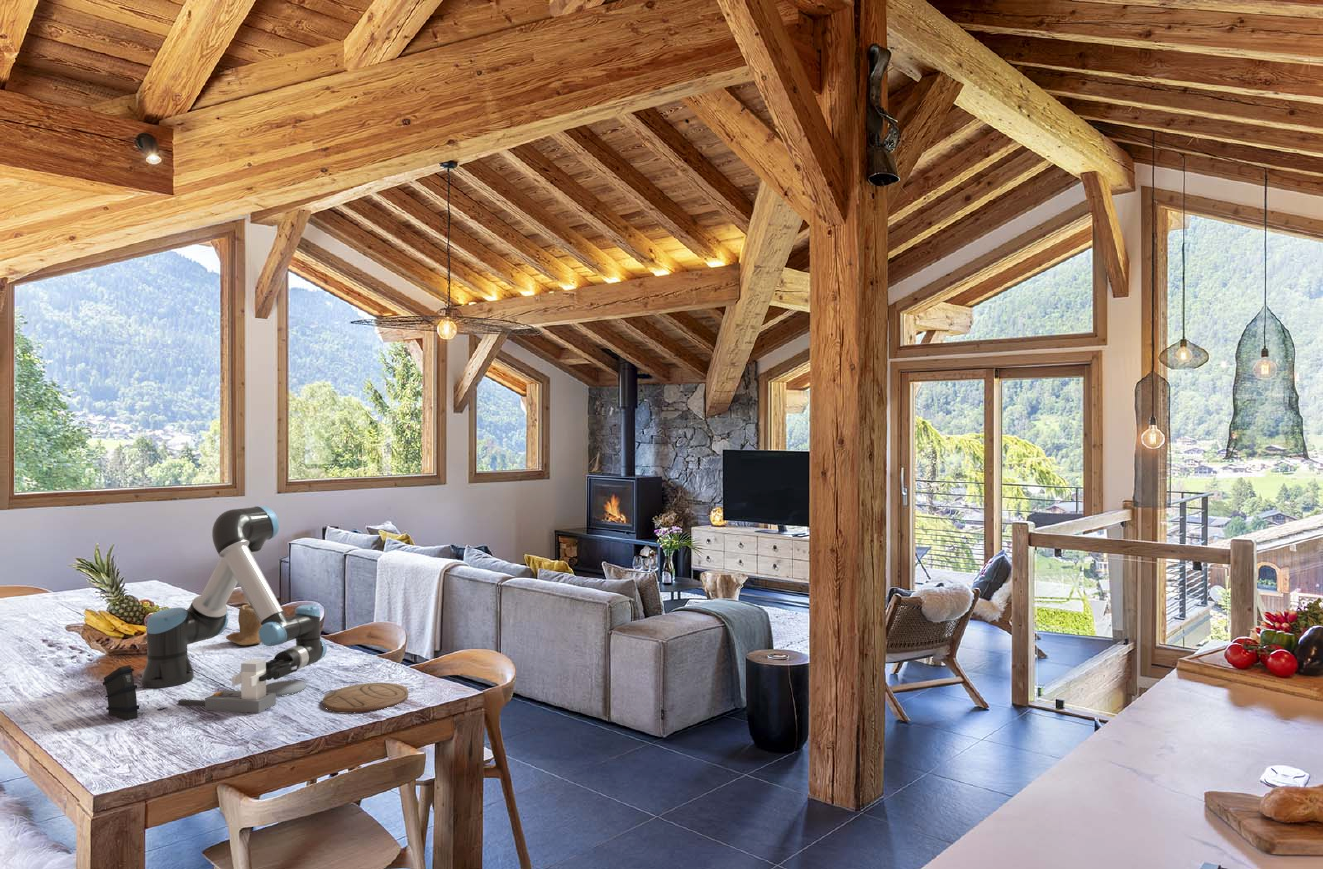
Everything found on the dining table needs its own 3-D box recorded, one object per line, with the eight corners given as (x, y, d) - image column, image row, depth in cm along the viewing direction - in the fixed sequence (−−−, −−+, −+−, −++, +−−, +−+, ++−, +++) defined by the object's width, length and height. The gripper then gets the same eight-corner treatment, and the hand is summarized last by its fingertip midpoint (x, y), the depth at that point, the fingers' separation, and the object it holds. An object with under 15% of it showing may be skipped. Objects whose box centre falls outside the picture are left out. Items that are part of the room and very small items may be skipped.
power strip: (170, 707, 258) (170, 694, 258) (189, 699, 266) (189, 686, 266) (258, 713, 252) (258, 699, 252) (275, 704, 260) (275, 691, 260)
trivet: (347, 720, 246) (347, 713, 246) (308, 702, 263) (308, 696, 263) (423, 699, 265) (423, 693, 265) (382, 683, 282) (382, 678, 282)
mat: (250, 691, 274) (250, 688, 274) (293, 681, 284) (293, 678, 284) (270, 699, 265) (270, 696, 265) (314, 689, 275) (314, 686, 275)
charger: (241, 703, 255) (241, 663, 255) (251, 698, 260) (251, 659, 259) (256, 704, 254) (256, 664, 254) (266, 699, 259) (265, 659, 259)
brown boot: (271, 643, 336) (270, 605, 336) (239, 649, 327) (238, 610, 327) (256, 637, 346) (255, 600, 346) (225, 642, 338) (224, 604, 338)
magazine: (131, 717, 244) (118, 667, 248) (110, 729, 251) (98, 680, 254) (144, 713, 248) (132, 664, 251) (124, 725, 254) (112, 677, 257)
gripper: (315, 673, 273) (269, 695, 250) (265, 670, 276) (215, 692, 253) (315, 650, 273) (269, 670, 250) (265, 647, 276) (214, 667, 253)
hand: (242, 681), depth 252 cm, fingers closed on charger, 5 cm apart
